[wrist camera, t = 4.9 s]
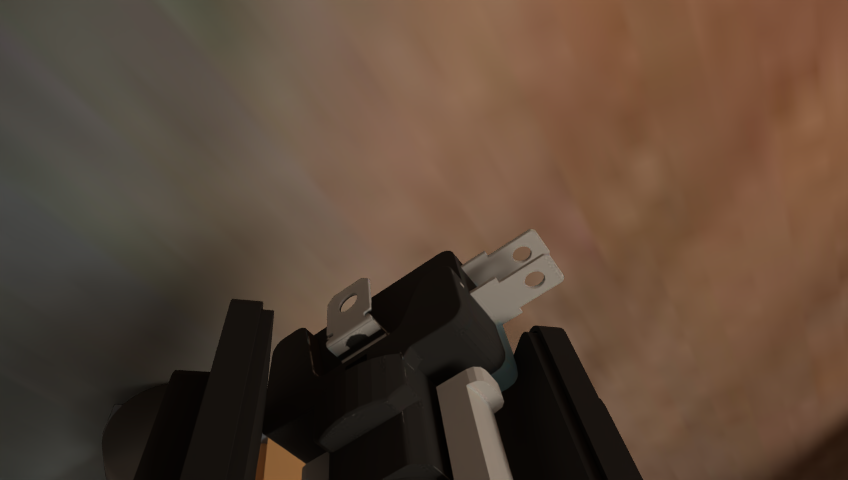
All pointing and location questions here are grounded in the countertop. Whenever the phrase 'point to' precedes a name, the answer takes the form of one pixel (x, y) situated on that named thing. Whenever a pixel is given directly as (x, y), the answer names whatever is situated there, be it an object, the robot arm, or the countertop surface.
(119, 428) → the chassis
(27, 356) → the countertop surface
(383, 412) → the push button
